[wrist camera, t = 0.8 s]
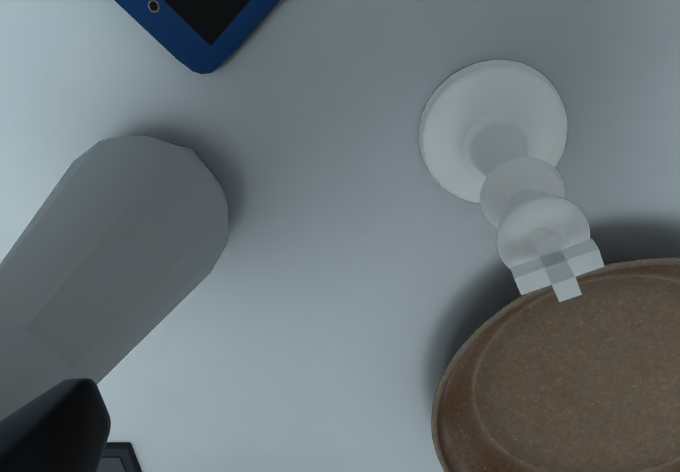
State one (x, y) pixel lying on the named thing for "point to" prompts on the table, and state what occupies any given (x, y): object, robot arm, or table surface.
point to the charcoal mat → (118, 458)
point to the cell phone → (199, 27)
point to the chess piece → (511, 169)
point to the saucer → (570, 379)
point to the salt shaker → (105, 262)
